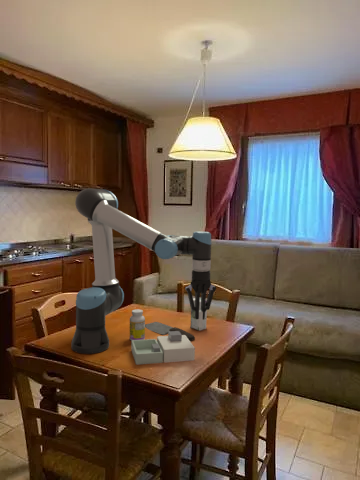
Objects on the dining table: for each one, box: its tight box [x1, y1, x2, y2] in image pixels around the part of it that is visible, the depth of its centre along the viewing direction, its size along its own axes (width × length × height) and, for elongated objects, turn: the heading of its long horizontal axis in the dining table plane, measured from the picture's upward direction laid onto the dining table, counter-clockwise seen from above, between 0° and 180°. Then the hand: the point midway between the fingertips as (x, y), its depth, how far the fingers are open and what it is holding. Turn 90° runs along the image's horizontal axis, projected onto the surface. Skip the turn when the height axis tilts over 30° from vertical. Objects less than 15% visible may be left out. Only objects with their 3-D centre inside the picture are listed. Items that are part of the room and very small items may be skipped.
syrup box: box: [190, 297, 208, 332], centre depth 179 cm, size 6×6×14 cm
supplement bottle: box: [129, 308, 146, 342], centre depth 162 cm, size 7×7×13 cm
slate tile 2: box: [167, 331, 182, 341], centre depth 151 cm, size 4×4×2 cm
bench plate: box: [156, 335, 196, 363], centre depth 148 cm, size 12×14×5 cm
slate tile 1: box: [151, 344, 160, 353], centre depth 143 cm, size 4×4×2 cm
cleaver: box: [145, 321, 196, 342], centre depth 173 cm, size 29×10×2 cm, turn 45°
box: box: [130, 338, 164, 366], centre depth 145 cm, size 10×14×4 cm
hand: (199, 326), depth 153 cm, fingers closed
